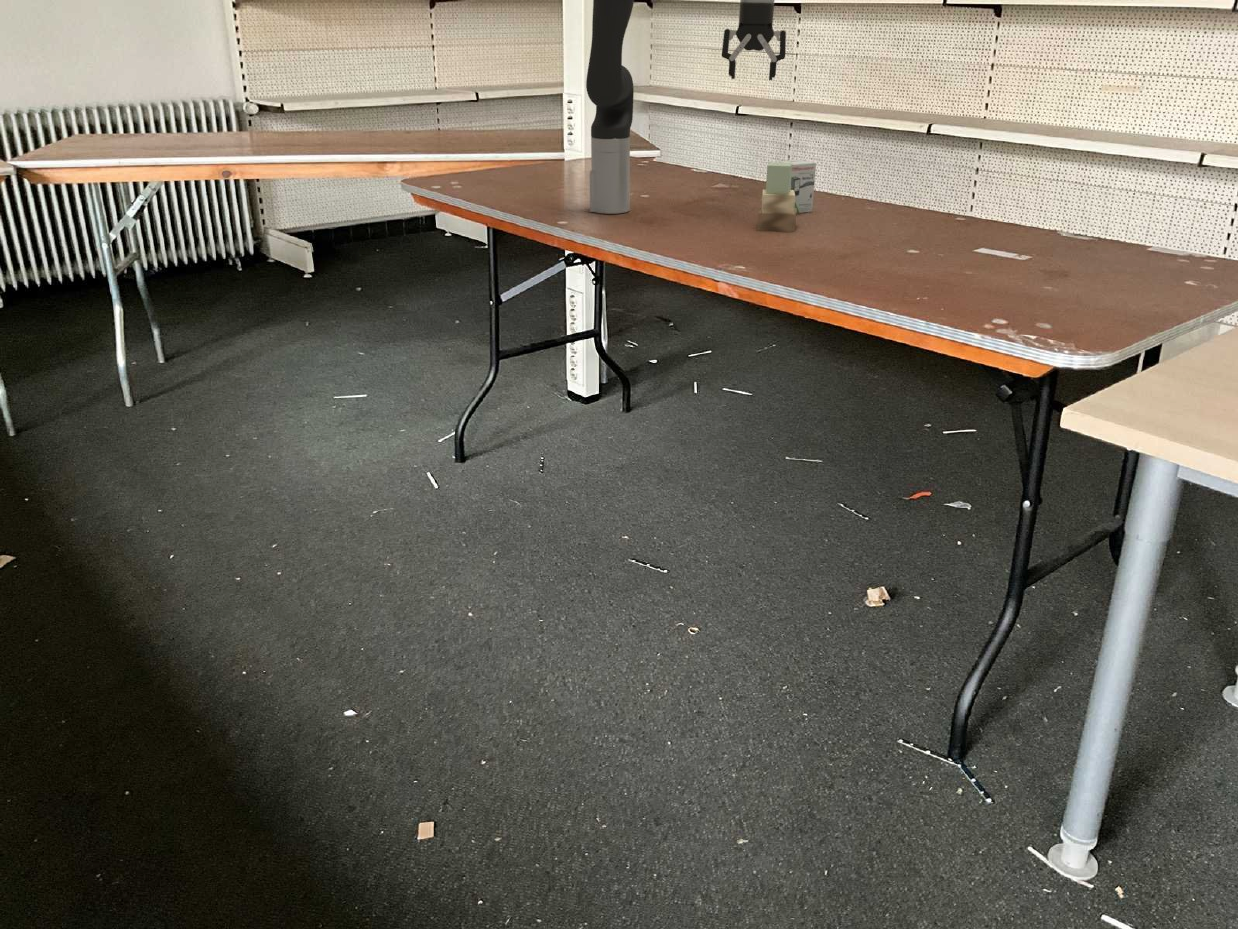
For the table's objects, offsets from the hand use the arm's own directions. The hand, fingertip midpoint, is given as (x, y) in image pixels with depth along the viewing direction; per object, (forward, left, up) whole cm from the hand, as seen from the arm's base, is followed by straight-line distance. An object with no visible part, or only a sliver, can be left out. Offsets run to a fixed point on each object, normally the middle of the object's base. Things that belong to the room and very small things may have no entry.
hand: (751, 79), depth 222 cm
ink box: (+12, +4, -30) cm, 33 cm away
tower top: (+8, -16, -26) cm, 32 cm away
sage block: (+8, -16, -22) cm, 28 cm away
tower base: (+8, -16, -30) cm, 35 cm away
